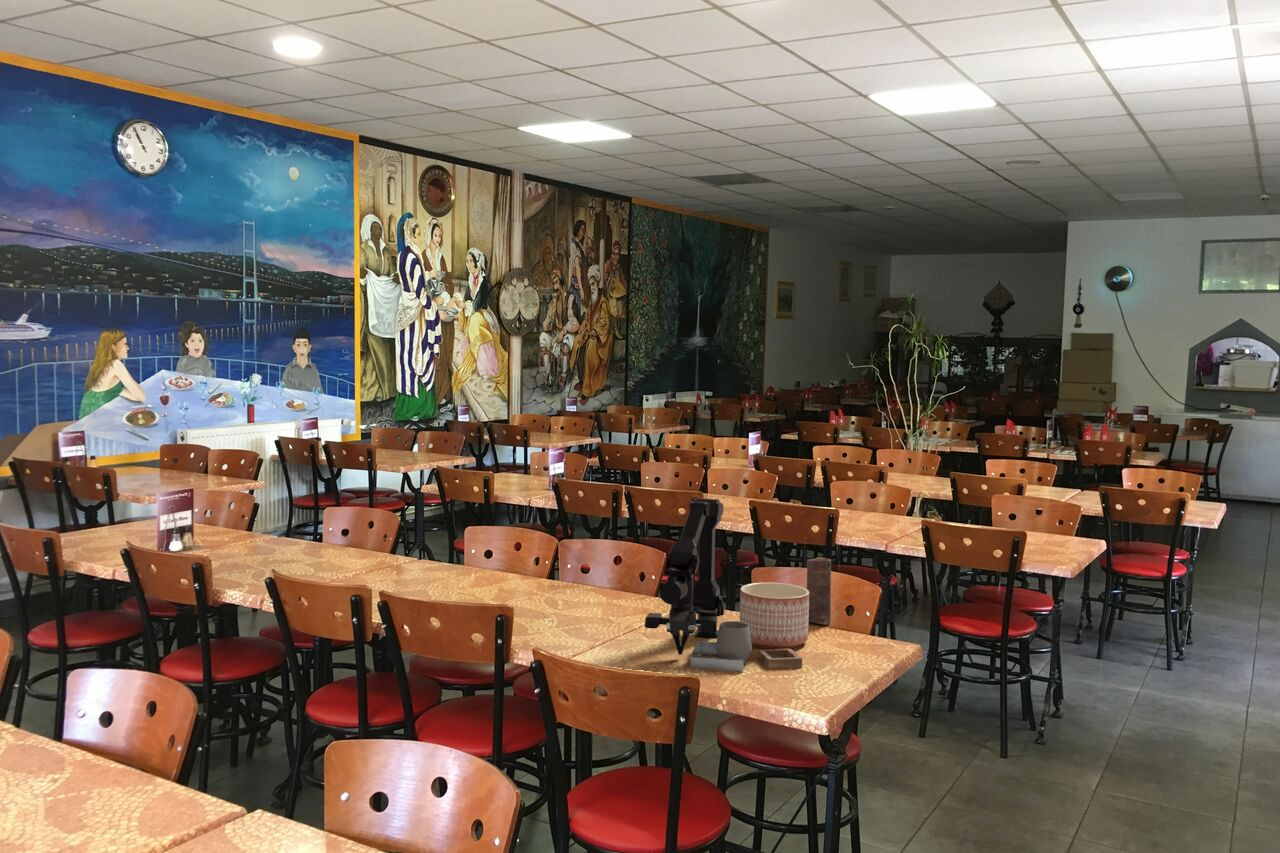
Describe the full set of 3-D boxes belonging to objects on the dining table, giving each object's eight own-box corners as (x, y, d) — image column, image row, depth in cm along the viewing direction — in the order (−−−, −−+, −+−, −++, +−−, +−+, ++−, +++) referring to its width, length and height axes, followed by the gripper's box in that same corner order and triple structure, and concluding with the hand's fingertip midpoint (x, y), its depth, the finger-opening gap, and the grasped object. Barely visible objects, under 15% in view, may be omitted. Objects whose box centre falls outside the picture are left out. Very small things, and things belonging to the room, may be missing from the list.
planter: (732, 646, 274) (733, 594, 273) (747, 629, 292) (748, 580, 291) (801, 654, 268) (803, 600, 267) (812, 636, 286) (814, 586, 285)
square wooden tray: (757, 658, 264) (758, 649, 264) (790, 657, 266) (790, 648, 265) (768, 669, 255) (769, 659, 255) (802, 667, 257) (802, 658, 257)
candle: (811, 627, 297) (813, 560, 295) (801, 620, 304) (803, 556, 302) (834, 625, 299) (836, 560, 297) (823, 619, 306) (825, 555, 304)
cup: (708, 659, 262) (709, 622, 262) (739, 655, 266) (740, 618, 266) (726, 669, 254) (727, 631, 253) (758, 665, 258) (759, 627, 257)
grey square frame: (690, 668, 254) (690, 657, 254) (696, 652, 269) (696, 641, 269) (743, 672, 252) (743, 660, 252) (746, 655, 267) (746, 644, 266)
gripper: (642, 601, 254) (641, 661, 255) (715, 605, 252) (713, 665, 253) (648, 591, 265) (646, 648, 266) (718, 595, 263) (716, 653, 264)
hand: (680, 654), depth 262 cm, fingers closed
